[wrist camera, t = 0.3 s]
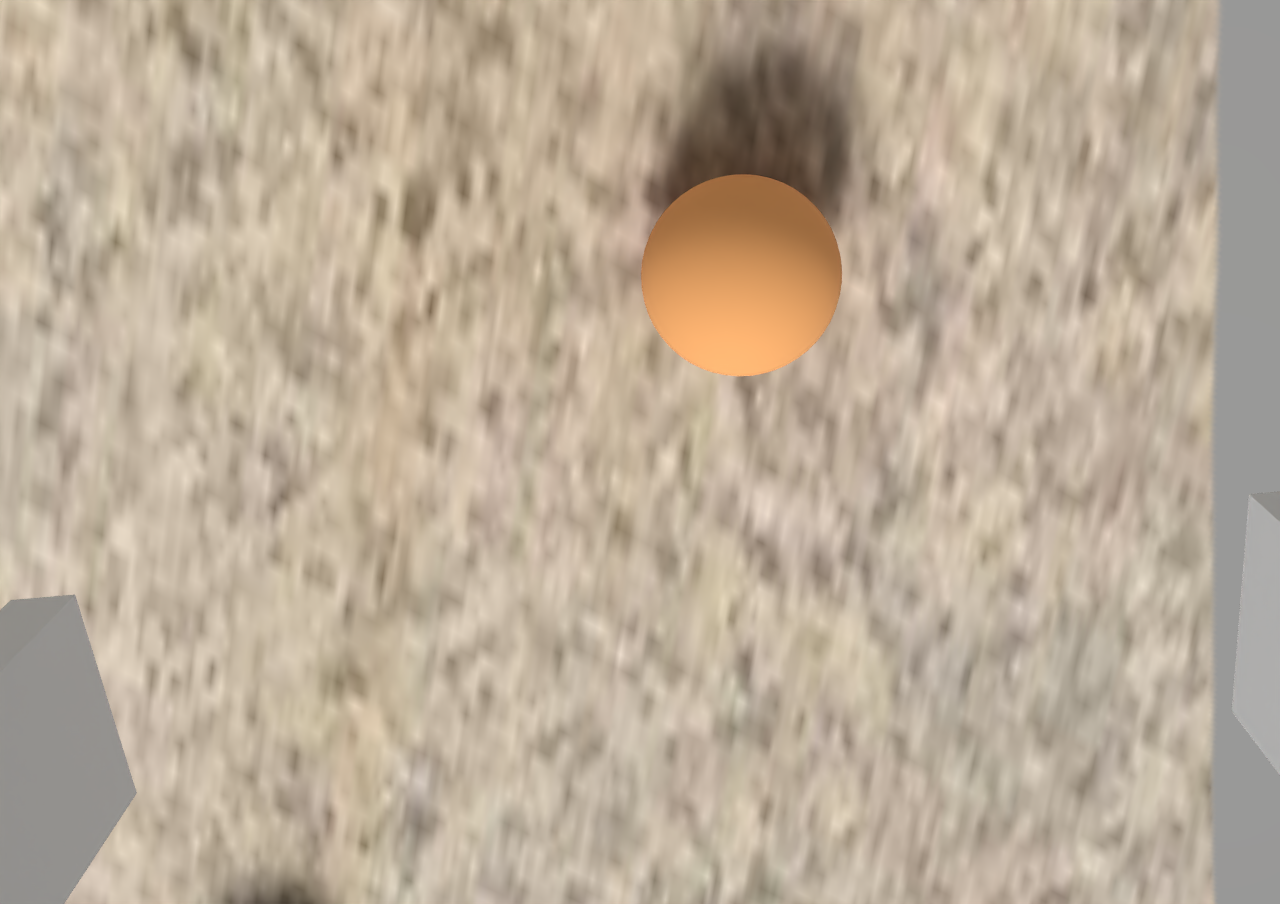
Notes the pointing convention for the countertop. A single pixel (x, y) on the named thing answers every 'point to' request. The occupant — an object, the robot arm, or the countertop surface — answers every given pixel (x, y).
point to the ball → (741, 275)
